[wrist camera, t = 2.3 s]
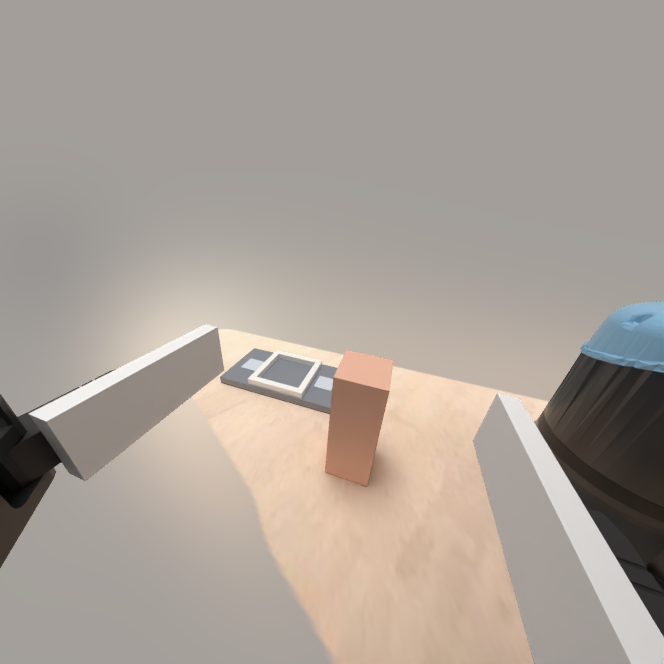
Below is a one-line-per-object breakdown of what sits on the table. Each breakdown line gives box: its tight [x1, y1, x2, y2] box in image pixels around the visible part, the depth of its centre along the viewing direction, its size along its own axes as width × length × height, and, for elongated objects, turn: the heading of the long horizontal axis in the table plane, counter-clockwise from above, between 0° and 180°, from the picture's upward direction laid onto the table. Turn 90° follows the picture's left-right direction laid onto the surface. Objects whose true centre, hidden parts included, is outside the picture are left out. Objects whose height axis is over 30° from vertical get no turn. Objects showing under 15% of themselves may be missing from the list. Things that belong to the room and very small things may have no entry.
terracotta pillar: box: [325, 350, 393, 487], centre depth 26 cm, size 5×5×14 cm
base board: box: [220, 348, 338, 414], centre depth 41 cm, size 20×10×2 cm, turn 73°
